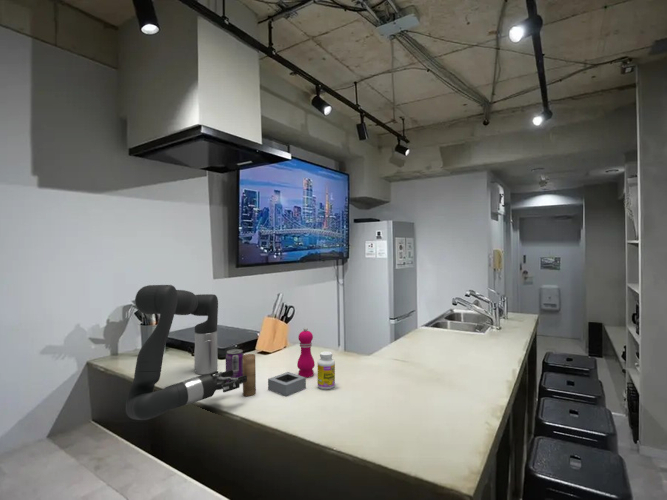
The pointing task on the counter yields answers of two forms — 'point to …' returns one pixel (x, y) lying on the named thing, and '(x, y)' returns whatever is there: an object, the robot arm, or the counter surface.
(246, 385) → the peg
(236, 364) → the beverage can
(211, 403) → the counter surface
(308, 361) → the pepper mill
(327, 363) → the supplement bottle
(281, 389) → the socket
